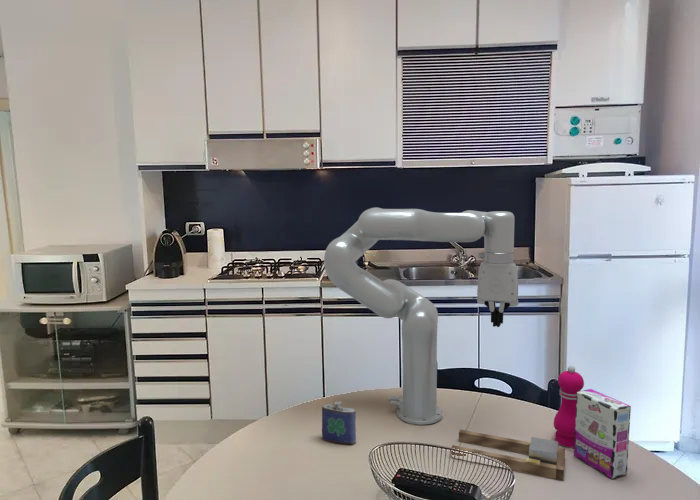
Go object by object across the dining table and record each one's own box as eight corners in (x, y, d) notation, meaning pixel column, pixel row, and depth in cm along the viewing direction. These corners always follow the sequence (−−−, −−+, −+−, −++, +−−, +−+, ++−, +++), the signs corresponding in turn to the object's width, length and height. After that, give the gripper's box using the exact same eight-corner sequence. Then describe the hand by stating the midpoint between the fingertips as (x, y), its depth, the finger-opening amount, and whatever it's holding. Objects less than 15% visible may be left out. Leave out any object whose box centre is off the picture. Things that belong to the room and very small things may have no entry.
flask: (357, 441, 134) (356, 401, 133) (353, 447, 132) (352, 406, 130) (324, 435, 138) (323, 396, 136) (319, 440, 135) (318, 401, 134)
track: (451, 457, 126) (451, 446, 126) (460, 438, 135) (460, 427, 135) (563, 480, 116) (563, 468, 116) (564, 458, 125) (565, 446, 125)
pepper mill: (586, 449, 129) (590, 371, 126) (555, 447, 130) (558, 370, 127) (580, 435, 136) (583, 361, 133) (550, 433, 137) (553, 360, 134)
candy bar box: (628, 474, 118) (632, 405, 116) (612, 480, 116) (616, 410, 114) (588, 451, 128) (591, 387, 126) (572, 456, 126) (575, 391, 124)
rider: (528, 469, 121) (529, 448, 120) (530, 456, 126) (531, 436, 126) (556, 474, 119) (557, 454, 118) (557, 461, 124) (558, 441, 123)
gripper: (467, 258, 138) (466, 326, 141) (526, 262, 132) (524, 332, 135) (473, 254, 145) (471, 319, 148) (529, 257, 139) (527, 324, 141)
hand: (496, 325), depth 141 cm, fingers closed
